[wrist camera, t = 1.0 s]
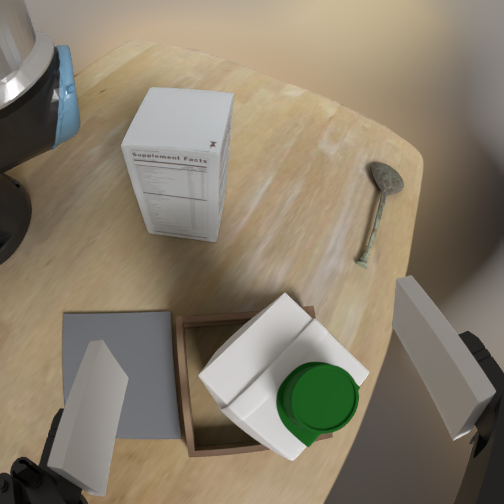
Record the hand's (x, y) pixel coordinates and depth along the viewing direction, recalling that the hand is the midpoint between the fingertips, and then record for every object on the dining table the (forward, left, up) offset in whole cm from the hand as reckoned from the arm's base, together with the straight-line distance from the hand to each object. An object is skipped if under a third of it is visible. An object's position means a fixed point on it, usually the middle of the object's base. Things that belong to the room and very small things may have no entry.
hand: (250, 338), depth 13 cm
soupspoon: (-21, +25, -24) cm, 41 cm away
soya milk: (+2, +3, -24) cm, 24 cm away
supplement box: (-21, -3, -24) cm, 32 cm away
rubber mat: (0, -13, -23) cm, 27 cm away
